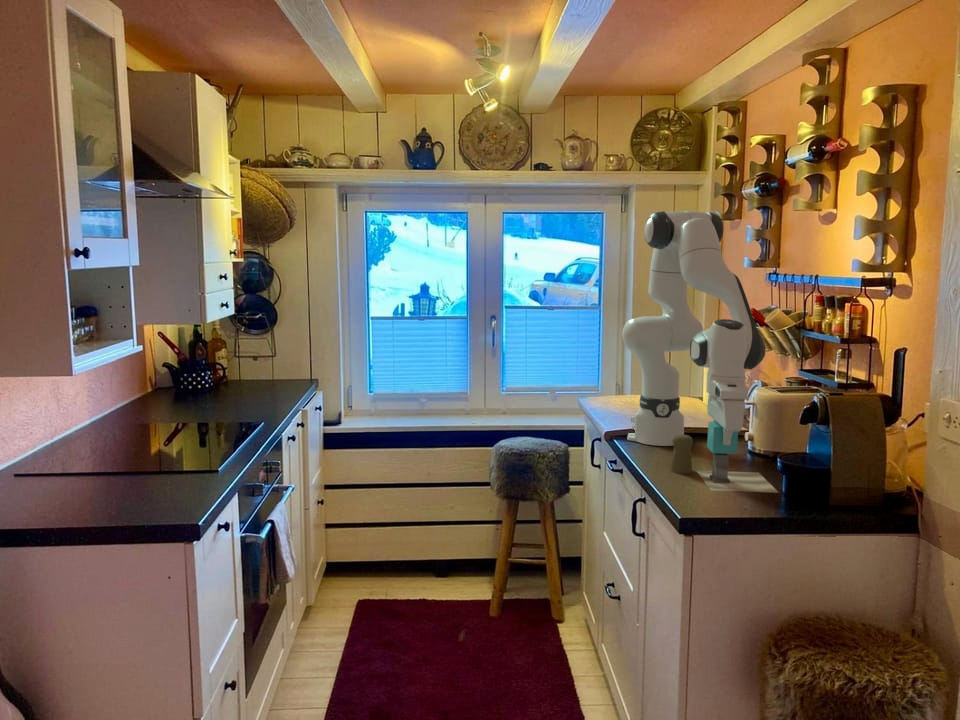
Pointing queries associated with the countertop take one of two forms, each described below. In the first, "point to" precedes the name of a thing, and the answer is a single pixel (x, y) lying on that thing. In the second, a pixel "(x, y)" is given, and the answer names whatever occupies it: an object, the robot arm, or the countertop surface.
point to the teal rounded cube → (720, 440)
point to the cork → (681, 454)
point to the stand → (733, 478)
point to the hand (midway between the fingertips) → (722, 440)
